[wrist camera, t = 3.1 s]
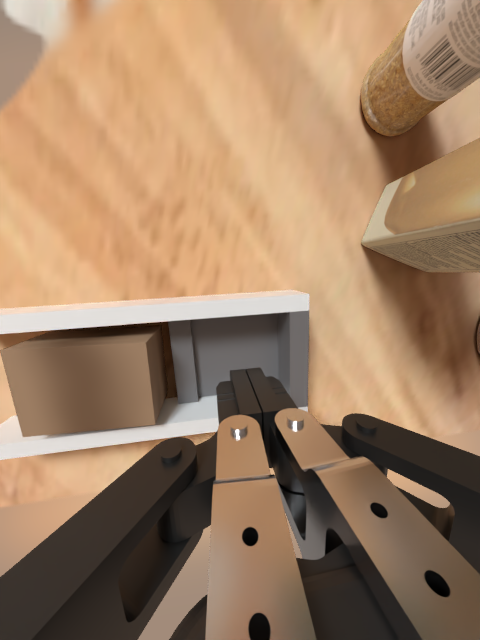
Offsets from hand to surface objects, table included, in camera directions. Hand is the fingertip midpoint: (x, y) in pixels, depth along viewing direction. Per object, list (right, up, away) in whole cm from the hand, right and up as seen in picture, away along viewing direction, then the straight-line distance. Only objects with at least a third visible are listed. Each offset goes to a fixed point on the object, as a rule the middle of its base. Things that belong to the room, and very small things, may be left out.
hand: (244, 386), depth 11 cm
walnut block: (-9, 0, +5) cm, 10 cm away
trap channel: (-6, +1, +5) cm, 8 cm away
